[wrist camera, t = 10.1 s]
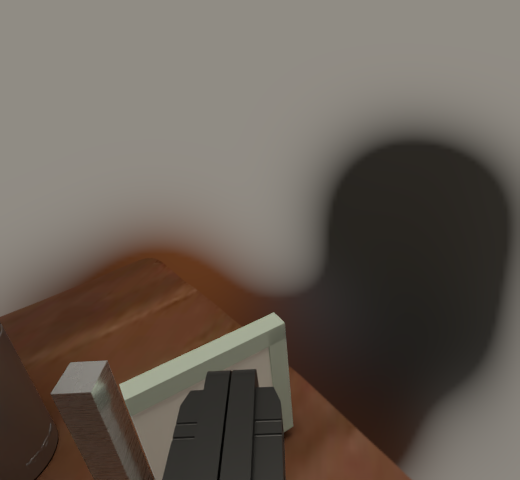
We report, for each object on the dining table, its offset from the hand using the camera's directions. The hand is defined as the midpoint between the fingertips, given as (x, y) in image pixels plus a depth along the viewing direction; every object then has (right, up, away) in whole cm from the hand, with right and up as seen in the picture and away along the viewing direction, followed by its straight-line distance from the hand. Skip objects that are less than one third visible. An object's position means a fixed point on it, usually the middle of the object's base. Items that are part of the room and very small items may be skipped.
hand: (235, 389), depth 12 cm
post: (-9, -18, +20) cm, 29 cm away
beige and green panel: (-2, -15, +22) cm, 27 cm away
